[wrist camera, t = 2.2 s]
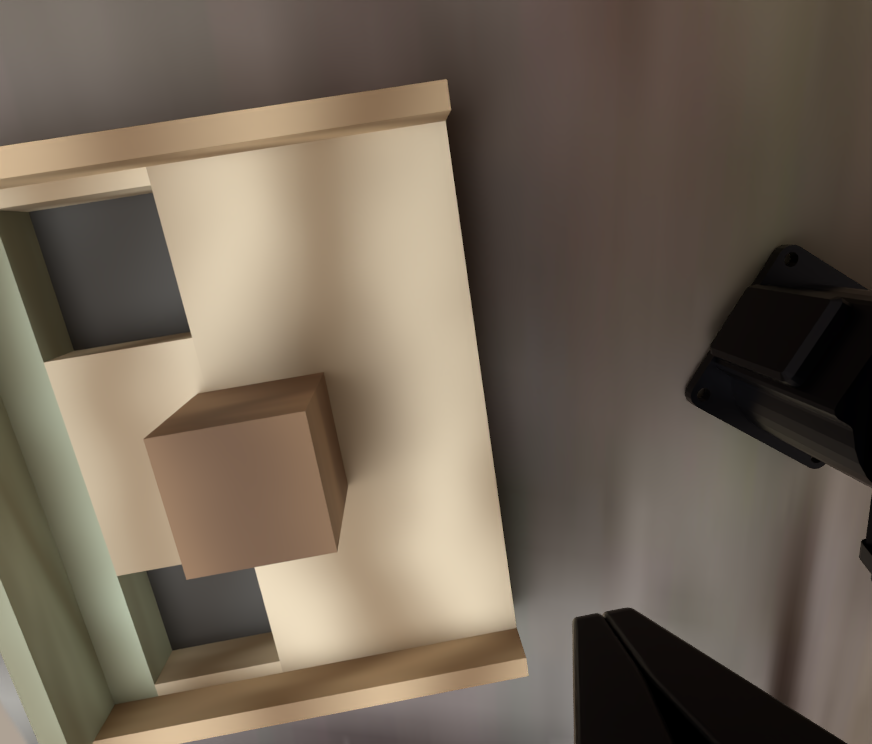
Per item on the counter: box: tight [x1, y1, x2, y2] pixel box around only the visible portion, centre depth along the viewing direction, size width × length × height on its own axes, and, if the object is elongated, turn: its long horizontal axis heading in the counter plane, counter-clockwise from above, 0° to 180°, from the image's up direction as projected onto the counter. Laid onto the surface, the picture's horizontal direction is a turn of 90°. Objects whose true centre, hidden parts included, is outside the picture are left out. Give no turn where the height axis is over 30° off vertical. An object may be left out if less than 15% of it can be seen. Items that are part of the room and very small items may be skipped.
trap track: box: [0, 79, 529, 744], centre depth 18 cm, size 16×19×4 cm
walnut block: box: [143, 372, 348, 580], centre depth 16 cm, size 4×4×4 cm
